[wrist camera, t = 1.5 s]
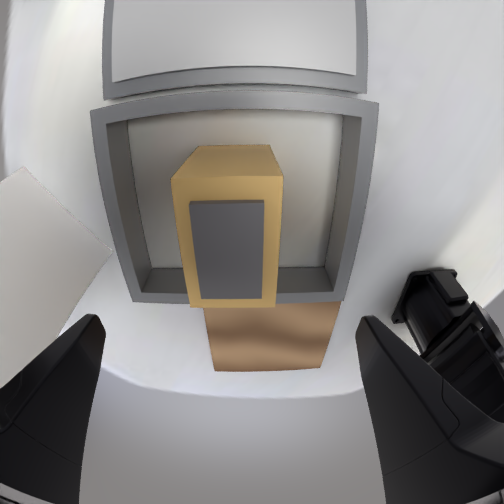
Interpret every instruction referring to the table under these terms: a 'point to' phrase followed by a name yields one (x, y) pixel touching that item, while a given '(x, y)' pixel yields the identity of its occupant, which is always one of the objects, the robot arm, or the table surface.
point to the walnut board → (270, 336)
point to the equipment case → (235, 72)
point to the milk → (39, 269)
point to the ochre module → (229, 225)
